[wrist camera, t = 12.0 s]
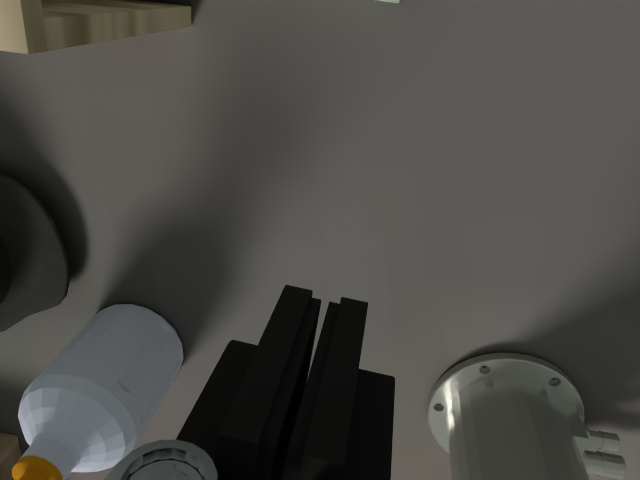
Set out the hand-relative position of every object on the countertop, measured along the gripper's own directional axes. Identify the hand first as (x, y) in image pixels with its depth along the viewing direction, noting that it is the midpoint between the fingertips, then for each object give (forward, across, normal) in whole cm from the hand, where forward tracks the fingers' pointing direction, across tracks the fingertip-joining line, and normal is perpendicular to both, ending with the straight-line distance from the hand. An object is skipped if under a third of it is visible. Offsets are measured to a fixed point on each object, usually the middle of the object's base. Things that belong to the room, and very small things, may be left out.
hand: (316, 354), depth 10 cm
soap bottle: (+28, +18, +25) cm, 41 cm away
